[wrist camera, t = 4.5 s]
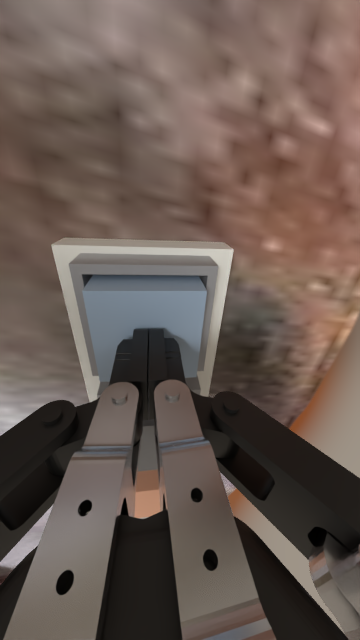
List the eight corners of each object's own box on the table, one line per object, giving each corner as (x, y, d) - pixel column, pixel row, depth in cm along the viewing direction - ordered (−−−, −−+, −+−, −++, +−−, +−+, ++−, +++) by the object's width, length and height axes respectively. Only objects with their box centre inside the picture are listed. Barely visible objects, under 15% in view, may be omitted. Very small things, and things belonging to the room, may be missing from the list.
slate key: (94, 273, 12) (82, 290, 9) (197, 273, 12) (207, 291, 10) (106, 354, 14) (99, 381, 12) (190, 351, 15) (196, 377, 13)
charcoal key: (111, 397, 16) (105, 429, 14) (188, 393, 16) (193, 422, 14) (118, 442, 18) (114, 473, 16) (183, 436, 19) (187, 466, 17)
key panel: (64, 237, 13) (33, 254, 10) (223, 242, 14) (246, 258, 11) (111, 462, 26) (105, 502, 23) (192, 454, 28) (198, 491, 24)
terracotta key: (121, 463, 20) (118, 494, 18) (181, 457, 21) (185, 486, 19) (126, 490, 23) (124, 519, 21) (179, 484, 24) (181, 512, 22)
